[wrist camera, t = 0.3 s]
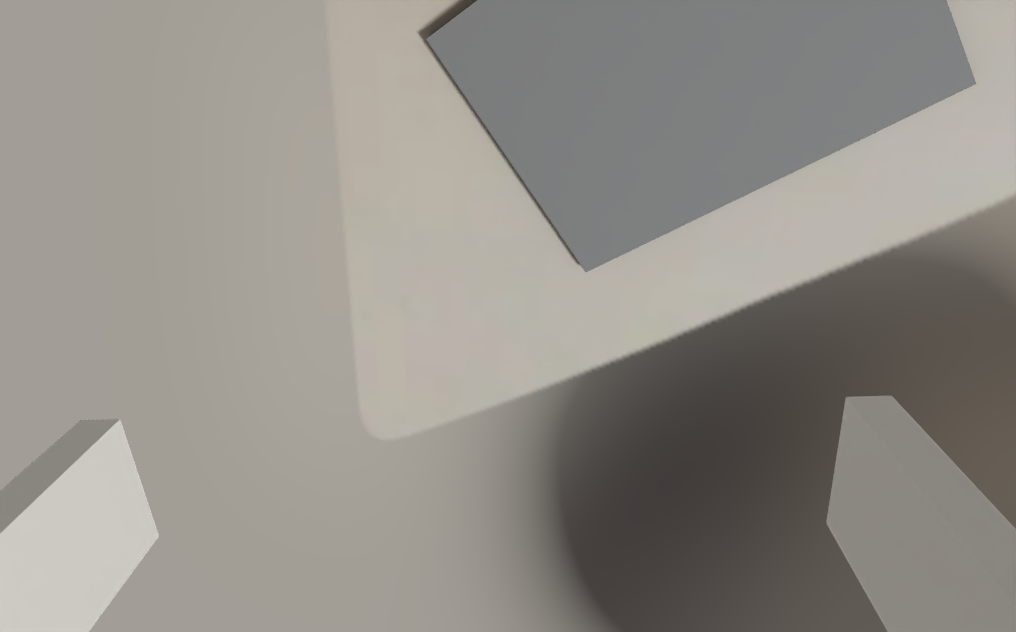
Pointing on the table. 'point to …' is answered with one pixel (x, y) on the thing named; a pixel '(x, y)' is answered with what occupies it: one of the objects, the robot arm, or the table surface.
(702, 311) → the table surface
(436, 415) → the table surface
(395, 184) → the table surface
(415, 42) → the table surface
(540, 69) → the mat
